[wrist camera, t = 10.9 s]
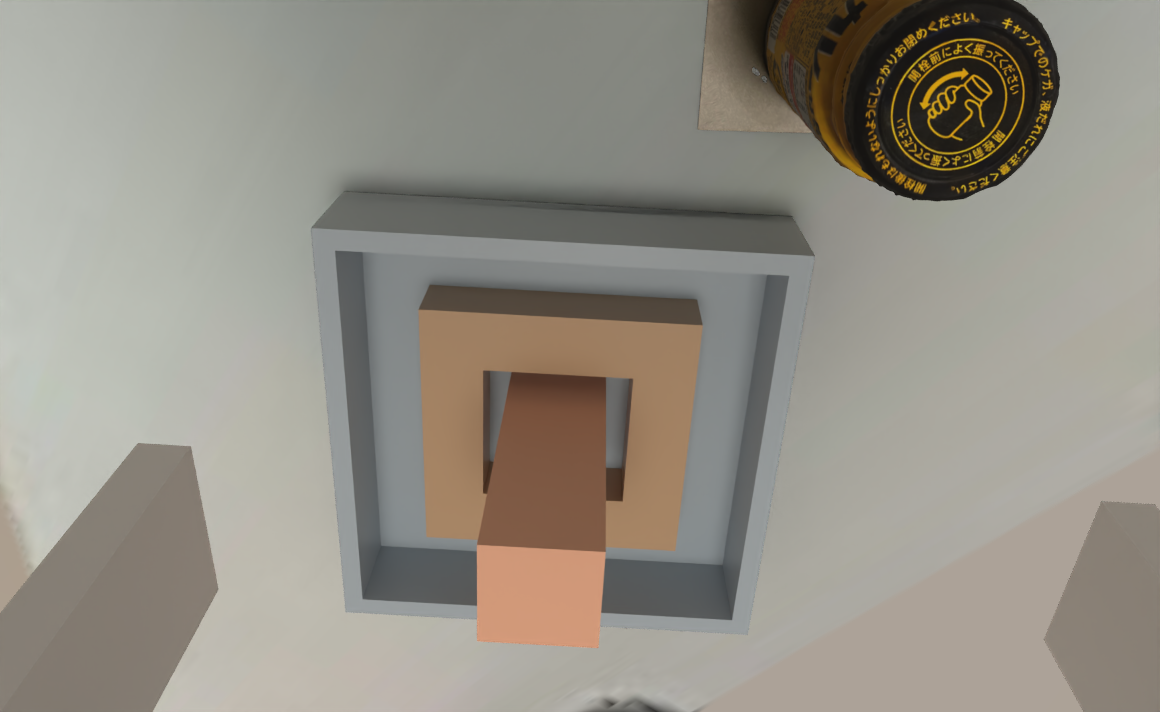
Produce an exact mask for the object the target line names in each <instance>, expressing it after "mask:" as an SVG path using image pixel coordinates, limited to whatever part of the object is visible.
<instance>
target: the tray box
mask: <svg viewBox="0 0 1160 712" xmlns="http://www.w3.org/2000/svg"><path fill="white" fill-rule="evenodd" d="M311 235H312V246H313V257H314V268H315V279H316V290H317V301H318V312H319V323H320V334H321V345H322V356H323V367H324V378H325V389H326V400H327V411H328V422H329V433H330V444H331V455H332V466H333V477H334V488H335V499H336V510H337V521H338V532H339V543H340V554H341V565H342V576H343V587H344V598H345V609H346V612H352V613H370V614H388V615H405V616H423V617H441V618H459V619H477V542H478V537H479V532H480V527H481V522H482V517H483V512H484V507H485V502H486V497H487V492H488V487H489V482H490V477H491V472H492V467H493V462H494V457H495V452H496V447H497V442H498V437H499V432H500V427H501V422H502V417H503V412H504V407H505V402H506V397H507V392H508V387H509V382H510V377H511V372H522V373H540V374H558V375H576V376H594V377H606V555H605V568H604V581H603V594H602V607H601V619H600V626H601V627H619V628H637V629H654V630H672V631H690V632H708V633H726V634H743V635H748V630H749V625H750V619H751V613H752V608H753V602H754V597H755V591H756V585H757V580H758V574H759V569H760V563H761V557H762V552H763V546H764V540H765V535H766V529H767V524H768V518H769V512H770V507H771V501H772V496H773V490H774V484H775V479H776V473H777V467H778V462H779V456H780V451H781V445H782V439H783V434H784V428H785V423H786V417H787V411H788V406H789V400H790V394H791V389H792V383H793V378H794V372H795V366H796V361H797V355H798V350H799V344H800V338H801V333H802V327H803V322H804V316H805V310H806V305H807V299H808V293H809V288H810V282H811V277H812V271H813V265H814V260H815V255H814V253H813V252H812V250H811V248H810V247H809V245H808V243H807V241H806V240H805V238H804V236H803V234H802V233H801V231H800V229H799V228H798V226H797V224H796V222H795V221H794V219H793V217H792V216H776V215H758V214H740V213H722V212H704V211H686V210H668V209H650V208H632V207H614V206H596V205H578V204H560V203H542V202H524V201H506V200H488V199H470V198H452V197H434V196H416V195H398V194H380V193H362V192H343V193H342V194H341V195H340V196H339V197H338V198H337V200H336V201H335V202H334V203H333V204H332V205H331V206H330V207H329V209H328V210H327V211H326V212H325V213H324V214H323V215H322V216H321V217H320V219H319V220H318V221H317V222H316V223H315V224H314V225H313V226H312V228H311Z"/></svg>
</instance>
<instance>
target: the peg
mask: <svg viewBox="0 0 1160 712" xmlns="http://www.w3.org/2000/svg"><path fill="white" fill-rule="evenodd" d="M605 555H606V377H594V376H576V375H558V374H540V373H522V372H511V377H510V382H509V387H508V392H507V397H506V402H505V407H504V412H503V417H502V422H501V427H500V432H499V437H498V442H497V447H496V452H495V457H494V462H493V467H492V472H491V477H490V482H489V487H488V492H487V497H486V502H485V507H484V512H483V517H482V522H481V527H480V532H479V537H478V542H477V641H483V642H501V643H519V644H536V645H554V646H572V647H590V648H598V645H599V632H600V619H601V607H602V594H603V581H604V568H605Z"/></svg>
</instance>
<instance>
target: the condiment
mask: <svg viewBox="0 0 1160 712" xmlns="http://www.w3.org/2000/svg"><path fill="white" fill-rule="evenodd" d="M753 67H754V68H756V69H757V70H758V71H759V73H760V75H759V76H756V75H755V74H754V73H753V72H752V68H753ZM762 76H766V78H767V83H764V82H763V81H762V79H761V77H762ZM1059 82H1060V76H1059V73H1058V66H1057V56H1056V53H1055V50H1054V48H1053V46H1052V43H1051V41H1050V38H1049V36H1048V34H1047V32H1046V31H1045V29H1044V28H1043V25H1042V23H1040V22H1039V20H1038V19H1037V18H1036V17H1035V16H1034V15H1033V14H1031V13H1030V12H1029V11H1028V10H1027V9H1026V8H1025V7H1024V6H1023V5H1021V4H1020V3H1018V2H1016V1H1014V0H708V13H707V24H706V36H705V47H704V60H703V73H702V84H701V98H700V109H699V122H698V130H717V131H747V132H757V131H764V132H790V133H813V134H814V136H815V137H816V138H817V139H818V140H819V141H820V142H821V144H822V145H823V146H824V148H825V149H826V150H827V151H828V152H829V153H830V154H831V155H832V156H833V158H834V159H835V161H836V162H838V163H839V164H840V165H841V166H843V167H845V168H847V169H849V170H851V171H852V172H854V173H855V174H856V175H858V176H860V177H864V178H866V179H868V180H869V181H873V182H875V183H877V184H878V185H879V186H883V187H884V188H886V189H887V190H889V191H892V192H894V193H895V195H900V196H903V197H907V198H912V200H931V201H947V200H958V199H964V198H967V197H969V196H971V195H973V194H975V193H977V192H979V191H981V190H984V189H986V188H990V187H993V186H997V185H999V184H1000V183H1001V182H1003V181H1004V180H1006V179H1007V178H1008V177H1010V176H1011V175H1012V174H1013V173H1014V172H1015V171H1016V170H1017V169H1018V168H1020V167H1021V166H1022V165H1023V163H1024V162H1025V161H1026V159H1027V158H1028V157H1029V156H1030V155H1031V154H1032V152H1033V151H1034V150H1035V149H1036V147H1037V146H1038V145H1039V143H1040V142H1041V140H1042V138H1043V137H1044V134H1045V132H1046V130H1047V128H1048V125H1049V122H1050V119H1051V117H1052V114H1053V110H1054V107H1055V105H1056V102H1057V99H1058V95H1059V87H1060V84H1059Z"/></svg>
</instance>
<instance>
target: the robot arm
mask: <svg viewBox="0 0 1160 712" xmlns="http://www.w3.org/2000/svg"><path fill="white" fill-rule="evenodd" d="M217 591H218V584H217V579H216V574H215V569H214V563H213V558H212V553H211V548H210V543H209V538H208V532H207V527H206V522H205V517H204V512H203V507H202V501H201V496H200V491H199V486H198V481H197V476H196V470H195V465H194V460H193V455H192V450H191V446H176V445H160V444H143V443H138V444H137V445H136V446H135V447H134V449H133V450H132V451H131V452H130V454H129V455H128V456H127V457H126V459H125V460H124V461H123V462H122V463H121V465H120V466H119V467H118V468H117V470H116V471H115V472H114V473H113V475H112V476H111V477H110V478H109V480H108V481H107V482H106V483H105V484H104V486H103V487H102V488H101V489H100V491H99V492H98V493H97V494H96V496H95V497H94V498H93V499H92V500H91V502H90V503H89V504H88V505H87V507H86V508H85V509H84V510H83V512H82V513H81V514H80V515H79V516H78V518H77V519H76V520H75V521H74V523H73V524H72V525H71V526H70V528H69V529H68V530H67V531H66V533H65V534H64V535H63V536H62V537H61V539H60V540H59V541H58V542H57V544H56V545H55V546H54V547H53V549H52V550H51V551H50V552H49V553H48V555H47V556H46V557H45V558H44V560H43V561H42V562H41V563H40V565H39V566H38V567H37V568H36V569H35V571H34V572H33V573H32V574H31V576H30V577H29V578H28V579H27V581H26V582H25V583H24V584H23V586H22V587H21V588H20V589H19V590H18V592H17V593H16V594H15V595H14V597H13V598H12V599H11V601H10V602H9V603H8V604H7V605H6V607H5V608H4V609H3V610H2V611H1V613H0V712H153V710H154V708H155V706H156V704H157V702H158V700H159V699H160V697H161V695H162V693H163V691H164V689H165V687H166V686H167V684H168V682H169V680H170V678H171V676H172V674H173V673H174V671H175V669H176V667H177V665H178V663H179V661H180V660H181V658H182V656H183V654H184V652H185V650H186V649H187V647H188V645H189V643H190V641H191V639H192V637H193V636H194V634H195V632H196V630H197V628H198V626H199V624H200V623H201V621H202V619H203V617H204V615H205V613H206V611H207V610H208V608H209V606H210V604H211V602H212V600H213V598H214V597H215V595H216V593H217ZM1044 641H1045V643H1046V644H1047V646H1048V648H1049V650H1050V651H1051V653H1052V655H1053V657H1054V658H1055V661H1056V663H1057V664H1058V666H1059V668H1060V670H1061V671H1062V673H1063V675H1064V677H1065V679H1066V681H1067V683H1068V684H1069V686H1070V688H1071V690H1072V692H1073V693H1074V695H1075V697H1076V699H1077V701H1078V703H1079V704H1080V706H1081V708H1082V710H1083V712H1160V510H1159V509H1158V508H1157V507H1156V505H1155V504H1138V503H1121V502H1105V501H1102V502H1101V503H1100V506H1099V508H1098V511H1097V513H1096V516H1095V518H1094V520H1093V523H1092V525H1091V528H1090V530H1089V532H1088V535H1087V537H1086V540H1085V542H1084V544H1083V547H1082V549H1081V552H1080V554H1079V557H1078V559H1077V561H1076V564H1075V566H1074V568H1073V571H1072V573H1071V576H1070V578H1069V580H1068V583H1067V585H1066V588H1065V590H1064V592H1063V595H1062V597H1061V600H1060V602H1059V604H1058V607H1057V610H1056V612H1055V614H1054V616H1053V619H1052V621H1051V624H1050V626H1049V628H1048V631H1047V633H1046V636H1045V638H1044Z"/></svg>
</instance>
